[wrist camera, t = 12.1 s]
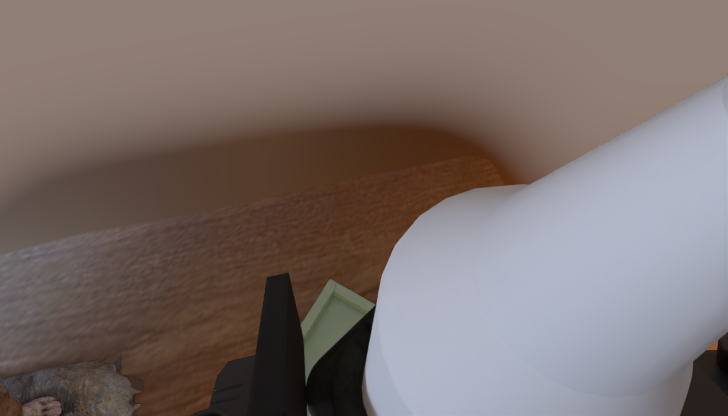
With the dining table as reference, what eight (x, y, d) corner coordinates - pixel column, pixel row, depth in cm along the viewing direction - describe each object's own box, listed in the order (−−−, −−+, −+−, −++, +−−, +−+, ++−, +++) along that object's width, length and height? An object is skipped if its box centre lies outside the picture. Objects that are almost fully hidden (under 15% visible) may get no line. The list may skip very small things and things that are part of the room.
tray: (234, 439, 29) (226, 440, 27) (331, 285, 35) (329, 278, 33) (437, 586, 25) (443, 598, 24) (508, 386, 31) (517, 384, 29)
